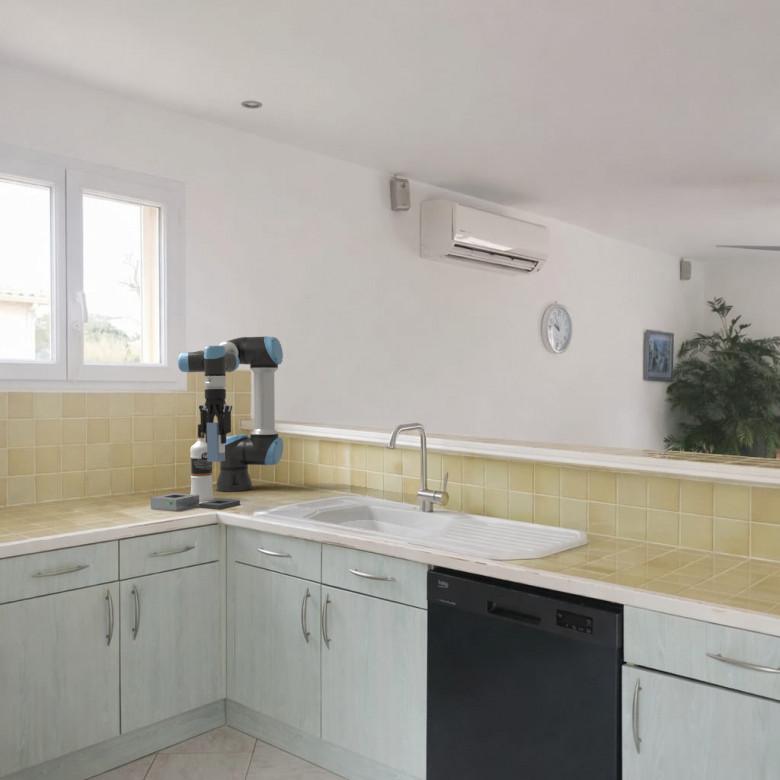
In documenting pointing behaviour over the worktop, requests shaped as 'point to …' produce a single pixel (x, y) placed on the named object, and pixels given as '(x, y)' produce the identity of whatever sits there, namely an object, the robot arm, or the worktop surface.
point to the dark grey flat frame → (219, 504)
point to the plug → (213, 443)
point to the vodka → (201, 469)
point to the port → (174, 502)
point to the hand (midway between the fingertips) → (216, 452)
